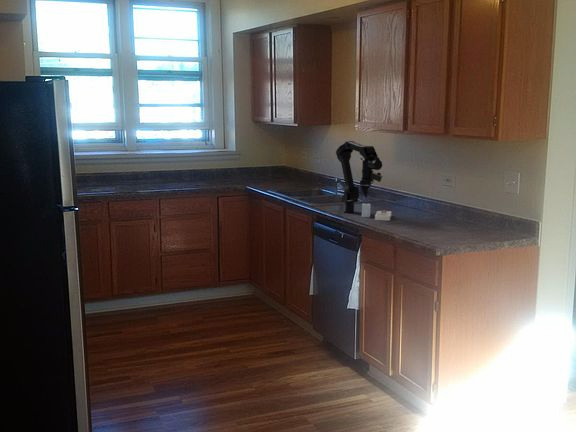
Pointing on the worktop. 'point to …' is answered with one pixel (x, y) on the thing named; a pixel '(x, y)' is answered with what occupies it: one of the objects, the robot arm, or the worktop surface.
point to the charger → (365, 210)
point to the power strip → (383, 215)
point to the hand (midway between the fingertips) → (366, 195)
